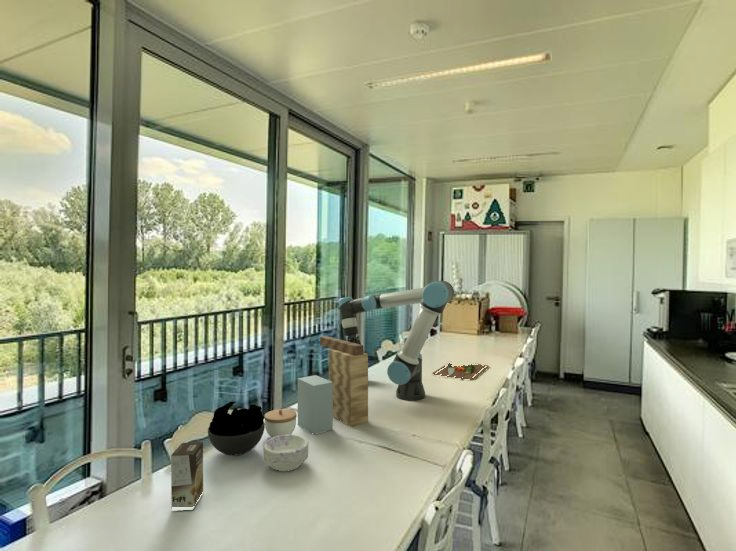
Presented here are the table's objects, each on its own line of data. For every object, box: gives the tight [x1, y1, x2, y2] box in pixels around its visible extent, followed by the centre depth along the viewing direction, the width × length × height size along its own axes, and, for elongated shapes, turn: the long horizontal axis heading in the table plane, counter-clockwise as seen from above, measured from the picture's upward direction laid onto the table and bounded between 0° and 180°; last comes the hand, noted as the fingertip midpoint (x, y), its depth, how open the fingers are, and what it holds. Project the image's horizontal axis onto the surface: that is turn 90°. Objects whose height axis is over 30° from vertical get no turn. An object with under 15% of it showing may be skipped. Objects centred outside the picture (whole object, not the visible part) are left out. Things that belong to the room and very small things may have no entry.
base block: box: [296, 374, 334, 435], centre depth 184 cm, size 14×9×20 cm, turn 37°
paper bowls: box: [262, 434, 309, 472], centre depth 150 cm, size 15×15×8 cm
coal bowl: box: [207, 401, 266, 457], centre depth 159 cm, size 20×20×19 cm
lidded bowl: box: [263, 408, 297, 438], centre depth 174 cm, size 13×13×11 cm
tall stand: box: [328, 348, 369, 427], centre depth 194 cm, size 18×9×30 cm, turn 37°
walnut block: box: [319, 335, 364, 356], centre depth 199 cm, size 30×4×4 cm, turn 37°
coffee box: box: [170, 441, 204, 508], centre depth 126 cm, size 9×6×16 cm
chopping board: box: [431, 362, 490, 381], centre depth 281 cm, size 45×27×3 cm, turn 151°
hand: (357, 368), depth 220 cm, fingers open, 13 cm apart
